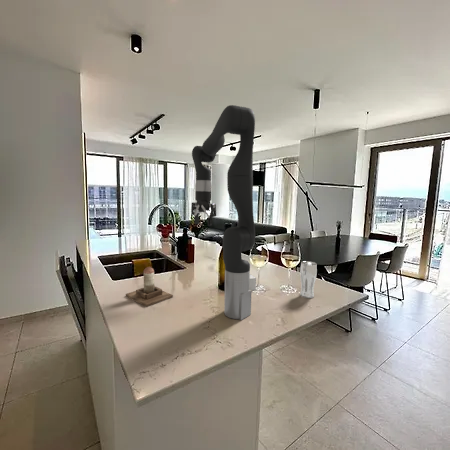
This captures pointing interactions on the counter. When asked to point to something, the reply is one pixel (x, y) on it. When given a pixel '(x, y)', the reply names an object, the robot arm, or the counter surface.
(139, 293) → the cradle
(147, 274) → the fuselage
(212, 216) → the robot arm
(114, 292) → the counter surface
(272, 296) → the counter surface
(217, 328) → the counter surface
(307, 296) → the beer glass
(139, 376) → the counter surface
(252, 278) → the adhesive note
